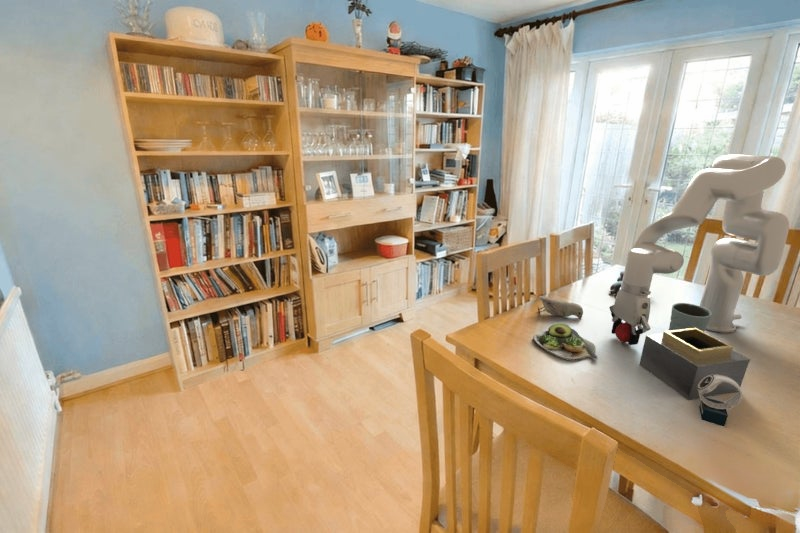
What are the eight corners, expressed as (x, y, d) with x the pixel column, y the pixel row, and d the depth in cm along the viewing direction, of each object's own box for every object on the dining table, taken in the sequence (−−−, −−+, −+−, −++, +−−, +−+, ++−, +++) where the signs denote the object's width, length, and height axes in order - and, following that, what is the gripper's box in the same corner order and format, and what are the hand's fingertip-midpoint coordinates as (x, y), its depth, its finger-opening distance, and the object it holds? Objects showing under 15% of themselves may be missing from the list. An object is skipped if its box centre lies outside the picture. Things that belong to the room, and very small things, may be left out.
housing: (684, 358, 114) (694, 322, 110) (738, 391, 99) (752, 351, 95) (639, 365, 111) (647, 327, 107) (688, 400, 96) (700, 358, 92)
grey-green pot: (695, 337, 126) (704, 305, 122) (707, 353, 117) (717, 318, 113) (660, 332, 129) (668, 301, 125) (669, 347, 120) (678, 314, 116)
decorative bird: (582, 322, 137) (586, 303, 134) (536, 317, 141) (538, 298, 139) (580, 316, 142) (583, 297, 139) (536, 311, 146) (538, 293, 144)
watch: (689, 403, 95) (700, 366, 91) (730, 415, 91) (743, 377, 87) (691, 417, 90) (702, 378, 87) (734, 430, 86) (748, 390, 83)
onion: (636, 348, 120) (641, 325, 117) (616, 346, 121) (621, 324, 118) (629, 339, 125) (634, 317, 122) (610, 337, 126) (615, 316, 124)
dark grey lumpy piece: (601, 291, 164) (611, 260, 164) (622, 299, 167) (631, 269, 167) (631, 294, 149) (641, 261, 150) (653, 303, 152) (663, 271, 153)
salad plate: (614, 356, 116) (617, 343, 114) (572, 371, 109) (575, 357, 107) (564, 329, 132) (566, 317, 131) (525, 340, 125) (527, 328, 124)
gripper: (669, 298, 109) (655, 351, 115) (624, 277, 125) (614, 325, 131) (647, 300, 108) (634, 354, 114) (604, 279, 124) (596, 327, 130)
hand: (624, 338), depth 122 cm, fingers open, 6 cm apart
